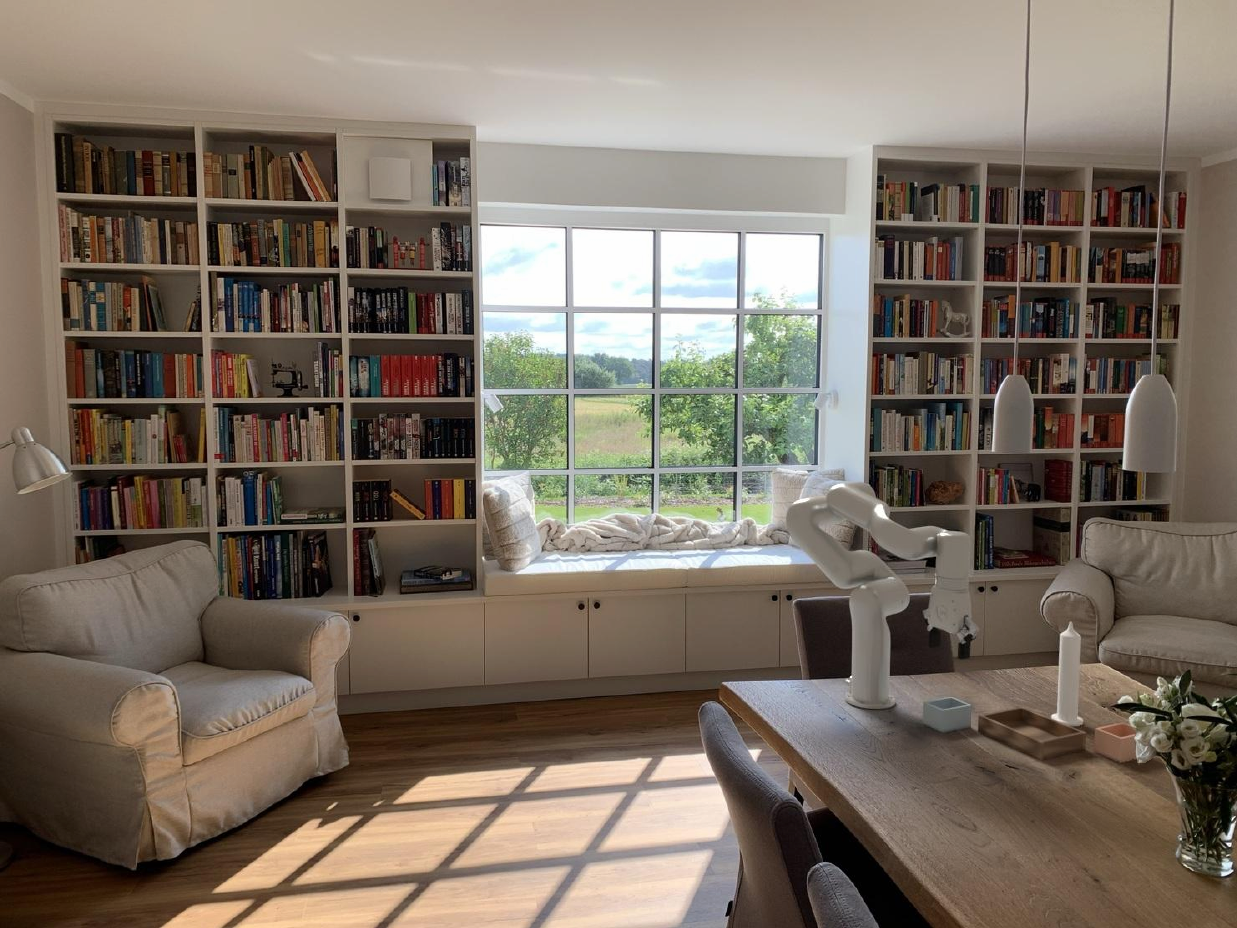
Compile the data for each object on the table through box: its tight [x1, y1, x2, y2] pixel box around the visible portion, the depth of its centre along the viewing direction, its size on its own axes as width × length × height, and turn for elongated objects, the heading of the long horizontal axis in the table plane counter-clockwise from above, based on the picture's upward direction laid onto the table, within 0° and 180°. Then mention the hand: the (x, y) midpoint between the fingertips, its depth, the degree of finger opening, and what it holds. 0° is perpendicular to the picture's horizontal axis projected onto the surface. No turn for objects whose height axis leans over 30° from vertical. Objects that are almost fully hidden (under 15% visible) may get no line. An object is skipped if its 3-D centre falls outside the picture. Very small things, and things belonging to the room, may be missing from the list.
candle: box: [1050, 621, 1084, 727], centre depth 219 cm, size 7×7×25 cm
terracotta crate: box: [1093, 722, 1136, 764], centre depth 200 cm, size 6×9×6 cm
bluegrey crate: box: [922, 696, 972, 734], centre depth 217 cm, size 6×9×6 cm
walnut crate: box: [977, 706, 1087, 761], centre depth 208 cm, size 18×14×4 cm
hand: (948, 652), depth 215 cm, fingers open, 9 cm apart
